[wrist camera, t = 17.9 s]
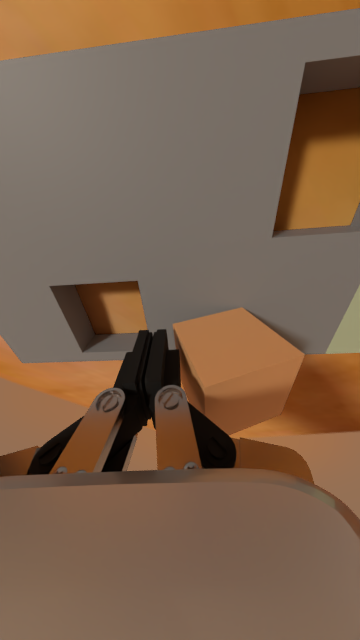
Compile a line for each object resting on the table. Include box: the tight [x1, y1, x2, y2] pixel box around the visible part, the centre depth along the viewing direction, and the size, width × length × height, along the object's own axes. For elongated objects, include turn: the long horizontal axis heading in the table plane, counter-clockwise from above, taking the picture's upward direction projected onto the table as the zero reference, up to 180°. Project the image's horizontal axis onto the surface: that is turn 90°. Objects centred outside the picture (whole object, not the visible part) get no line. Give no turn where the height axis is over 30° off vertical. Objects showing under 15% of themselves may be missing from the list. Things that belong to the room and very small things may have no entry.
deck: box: [0, 8, 360, 363], centre depth 11 cm, size 32×16×4 cm, turn 94°
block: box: [173, 307, 305, 435], centre depth 11 cm, size 5×5×5 cm
